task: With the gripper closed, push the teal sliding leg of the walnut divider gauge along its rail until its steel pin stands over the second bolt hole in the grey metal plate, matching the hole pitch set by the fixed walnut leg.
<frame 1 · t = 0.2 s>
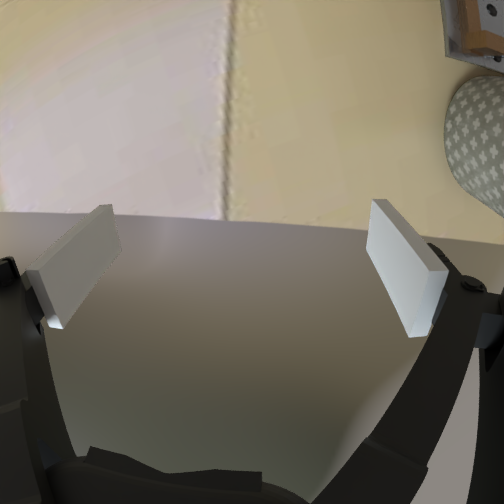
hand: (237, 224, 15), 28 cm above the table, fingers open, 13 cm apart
planter: (481, 135, 36), on the table
gauge board: (473, 8, 26), on the table
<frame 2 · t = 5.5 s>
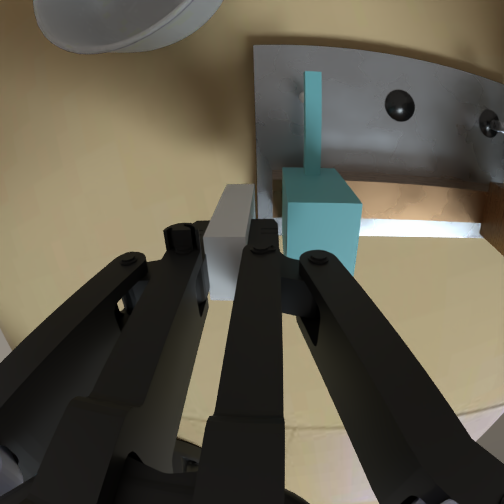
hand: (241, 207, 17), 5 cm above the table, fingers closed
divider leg: (313, 163, 15), point 6 cm above the table, slide at -6.9 cm, touching gripper
gauge board: (397, 146, 20), on the table
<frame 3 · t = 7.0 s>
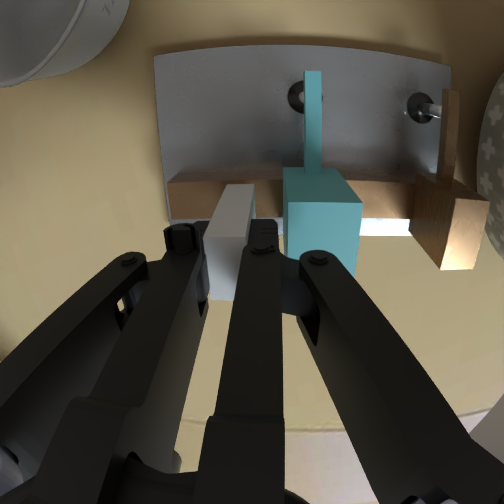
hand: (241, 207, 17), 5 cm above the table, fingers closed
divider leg: (313, 162, 15), point 6 cm above the table, slide at -0.5 cm, touching gripper
teacup: (76, 5, 15), on the table
gauge board: (310, 140, 20), on the table
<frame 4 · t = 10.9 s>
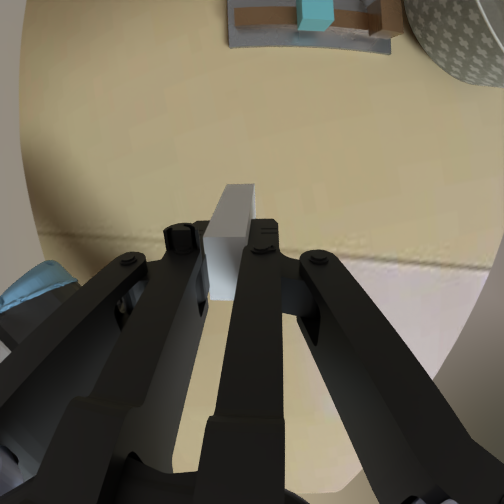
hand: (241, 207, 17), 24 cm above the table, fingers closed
planter: (453, 22, 28), on the table
gauge board: (309, 2, 29), on the table
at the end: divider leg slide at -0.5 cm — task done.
